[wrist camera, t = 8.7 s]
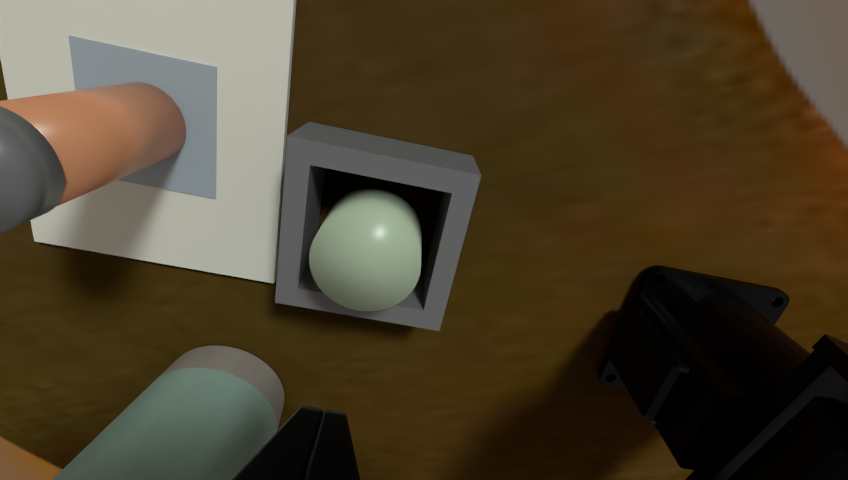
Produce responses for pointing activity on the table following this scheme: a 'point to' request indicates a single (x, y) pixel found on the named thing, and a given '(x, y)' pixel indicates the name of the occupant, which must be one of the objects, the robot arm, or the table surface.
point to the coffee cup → (189, 422)
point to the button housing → (380, 160)
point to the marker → (80, 144)
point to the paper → (203, 113)
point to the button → (368, 250)
